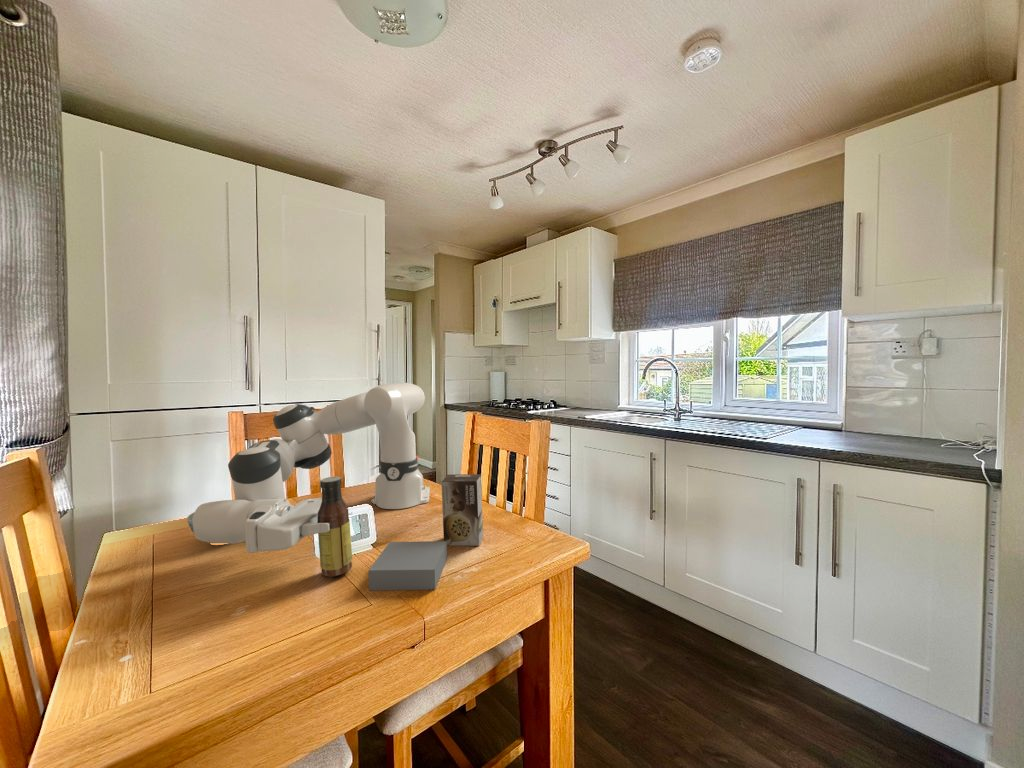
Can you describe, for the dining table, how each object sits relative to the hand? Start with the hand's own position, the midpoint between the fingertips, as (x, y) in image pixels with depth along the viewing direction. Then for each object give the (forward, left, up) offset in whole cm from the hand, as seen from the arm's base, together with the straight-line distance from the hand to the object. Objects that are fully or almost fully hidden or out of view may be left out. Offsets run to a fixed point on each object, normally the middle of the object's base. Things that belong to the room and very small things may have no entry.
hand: (338, 519), depth 85 cm
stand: (0, +15, -12) cm, 19 cm away
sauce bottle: (0, -1, -11) cm, 11 cm away
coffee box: (-16, +24, -12) cm, 31 cm away
